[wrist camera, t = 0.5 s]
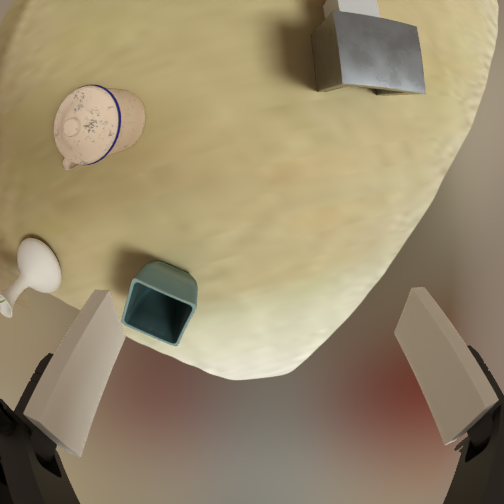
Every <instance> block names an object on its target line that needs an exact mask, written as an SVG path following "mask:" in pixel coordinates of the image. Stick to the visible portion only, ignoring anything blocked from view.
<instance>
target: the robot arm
mask: <svg viewBox="0 0 504 504" xmlns="http://www.w3.org/2000/svg"><path fill="white" fill-rule="evenodd" d="M394 334H395V336H396V338H397V340H398V342H399V344H400V346H401V348H402V350H403V352H404V353H405V356H406V357H407V360H408V362H409V364H410V366H411V368H412V370H413V372H414V374H415V376H416V379H417V380H418V383H419V385H420V387H421V389H422V392H423V394H424V396H425V398H426V401H427V403H428V405H429V408H430V410H431V412H432V415H433V417H434V420H435V422H436V425H437V427H438V430H439V432H440V434H441V437H442V440H443V443H444V445H447V444H449V443H451V442H453V441H455V440H458V439H459V438H460V437H461V436H462V435H464V434H465V433H466V432H467V433H468V436H467V437H466V438H465V439H464V440H462V441H461V442H460V443H459V444H458V445H457V446H456V448H455V451H456V450H458V449H459V448H460V447H461V446H463V447H462V449H460V451H459V452H461V456H460V459H459V462H458V465H457V468H456V471H455V474H454V477H453V480H452V483H451V485H450V488H449V491H448V493H447V496H446V498H445V500H444V503H443V504H504V395H503V393H502V391H501V390H500V388H499V386H498V384H497V383H496V381H495V379H494V378H493V376H492V374H491V372H490V371H488V367H487V366H486V364H484V361H483V359H482V358H481V356H480V355H479V353H478V352H477V351H476V350H474V349H473V348H472V347H471V346H470V345H469V346H467V345H466V344H465V342H464V341H463V339H462V338H461V336H460V335H459V334H458V332H457V331H456V329H455V328H454V327H453V325H452V324H451V322H450V321H449V319H448V318H447V317H446V315H445V314H444V313H443V311H442V310H441V309H440V307H439V306H438V304H437V303H436V302H435V301H434V299H433V298H432V297H431V295H430V294H429V293H428V292H427V290H426V289H425V288H424V287H418V288H411V291H410V293H409V296H408V299H407V301H406V304H405V307H404V309H403V312H402V314H401V317H400V320H399V322H398V325H397V327H396V329H395V332H394ZM125 337H126V336H125V333H124V331H123V328H122V325H121V323H120V320H119V317H118V315H117V312H116V309H115V306H114V303H113V300H112V297H111V294H110V291H109V290H94V292H93V293H92V295H91V296H90V298H89V299H88V301H87V302H86V304H85V305H84V307H83V308H82V310H81V311H80V313H79V314H78V316H77V317H76V319H75V320H74V322H73V323H72V325H71V327H70V328H69V330H68V332H67V333H66V335H65V336H64V338H63V340H62V341H61V343H60V345H59V346H58V348H57V350H56V351H55V353H54V354H51V353H49V354H48V355H47V356H46V357H44V358H43V359H42V360H41V361H40V363H39V365H38V366H37V368H36V370H35V373H34V374H33V375H32V377H31V381H29V383H28V385H27V387H26V389H25V391H24V392H23V395H22V396H21V398H20V401H19V403H18V405H17V406H16V408H15V410H14V412H13V411H12V410H11V409H10V408H9V407H8V405H7V404H6V403H5V402H4V401H3V400H2V399H0V504H80V502H79V500H78V499H77V496H76V494H75V492H74V490H73V488H72V486H71V484H70V481H69V479H68V477H67V474H66V472H65V470H64V467H63V465H62V462H61V459H60V457H59V454H58V452H57V451H56V450H55V449H56V446H57V445H58V446H59V447H60V448H62V449H63V450H64V451H66V452H68V453H71V454H73V455H76V456H78V457H81V455H82V452H83V449H84V446H85V442H86V439H87V436H88V433H89V430H90V427H91V424H92V421H93V418H94V415H95V413H96V409H97V407H98V404H99V401H100V399H101V396H102V393H103V391H104V388H105V385H106V383H107V380H108V378H109V375H110V373H111V370H112V368H113V365H114V363H115V360H116V358H117V356H118V353H119V351H120V349H121V346H122V344H123V341H124V339H125Z"/></svg>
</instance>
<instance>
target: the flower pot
mask: <svg viewBox="0 0 504 504" xmlns="http://www.w3.org/2000/svg"><path fill="white" fill-rule="evenodd" d="M197 291H198V288H197V283H196V281H195V279H194V278H193V277H192V276H191V275H190V274H189V273H187V272H184V271H182V270H180V269H177V268H175V267H173V266H171V265H168V264H166V263H164V262H160V261H154V262H150V263H148V264H147V265H146V266H145V267H144V268H143V269H142V270H141V271H140V272H139V273H138V274H137V275H136V276H135V277H134V278H133V280H132V282H131V285H130V289H129V293H128V297H127V301H126V304H125V308H124V312H123V316H122V320H121V322H122V323H123V324H124V325H126V326H128V327H130V328H132V329H135V330H137V331H140V332H142V333H144V334H147V335H149V336H151V337H154V338H156V339H158V340H160V341H163V342H165V343H168V344H170V345H173V346H178V344H179V342H180V340H181V338H182V336H183V333H184V331H185V329H186V327H187V325H188V323H189V321H190V319H191V317H192V316H193V314H194V312H195V310H196V307H197Z"/></svg>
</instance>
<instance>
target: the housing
mask: <svg viewBox="0 0 504 504" xmlns="http://www.w3.org/2000/svg"><path fill="white" fill-rule="evenodd" d="M311 40H312V48H313V56H314V64H315V74H316V83H317V92H328V91H332V90H335V89H339V88H343V87H347V86H351V87H364V88H375V89H376V94H377V95H382V96H388V95H407V94H425V83H424V72H423V64H422V56H421V49H420V43H419V37H418V32H417V27H416V26H412V25H409V24H405V23H401V22H397V21H393V20H389V19H384V18H379V17H374V16H369V15H363V14H357V13H350V12H342V11H332V12H331V13H330V14H329V15H328V16H327V17H326V19H325V20H324V21H323V22H322V23H321V24H320V26H319V27H318V28H317V29H316V30H315V32H314V33H313V34H312V35H311Z"/></svg>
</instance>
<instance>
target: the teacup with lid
mask: <svg viewBox="0 0 504 504" xmlns="http://www.w3.org/2000/svg"><path fill="white" fill-rule="evenodd" d="M145 120H146V114H145V109H144V106H143V104H142V102H141V100H140V99H139V98H138V97H137V96H136V95H135V94H133V93H131V92H129V91H125V90H118V89H110V88H104V87H102V86H99V85H86V86H82V87H80V88H78V89H76V90H75V91H73V92H72V93H70V94H69V95H68V96H67V97H66V98H65V100H64V101H63V102H62V104H61V105H60V107H59V109H58V111H57V114H56V117H55V121H54V138H55V142H56V145H57V147H58V149H59V151H60V153H61V154H62V155H63V156H64V159H63V162H62V166H63V168H64V169H65V170H67V171H69V170H72V169H74V168H76V167H77V166H78V165H90V164H94V163H96V162H98V161H100V160H102V159H103V158H104V157H106V156H109V155H112V154H114V153H117V152H120V151H123V150H126V149H128V148H129V147H131V146H132V145H133V144H134V143H135V142H136V141H137V140H138V139H139V137H140V136H141V134H142V132H143V129H144V126H145Z"/></svg>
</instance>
